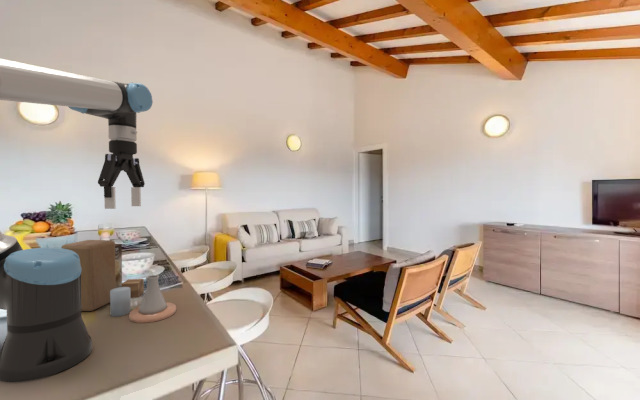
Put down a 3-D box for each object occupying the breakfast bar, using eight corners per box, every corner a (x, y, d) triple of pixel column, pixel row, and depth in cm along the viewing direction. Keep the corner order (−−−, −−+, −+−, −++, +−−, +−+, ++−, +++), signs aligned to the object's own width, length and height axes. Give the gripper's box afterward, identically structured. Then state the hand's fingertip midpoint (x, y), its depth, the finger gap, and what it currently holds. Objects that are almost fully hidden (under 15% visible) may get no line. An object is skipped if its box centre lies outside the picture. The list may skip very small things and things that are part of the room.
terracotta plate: (164, 322, 83) (164, 318, 83) (119, 323, 82) (119, 318, 82) (182, 305, 95) (182, 302, 95) (143, 306, 94) (143, 302, 94)
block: (117, 300, 99) (116, 239, 98) (91, 312, 89) (90, 245, 88) (89, 299, 100) (88, 239, 99) (60, 311, 90) (59, 244, 89)
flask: (132, 313, 86) (132, 278, 86) (153, 304, 93) (152, 272, 92) (153, 316, 84) (152, 281, 84) (172, 306, 91) (172, 274, 90)
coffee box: (107, 293, 105) (106, 248, 104) (88, 294, 105) (87, 248, 104) (122, 285, 114) (122, 243, 114) (105, 285, 114) (104, 243, 113)
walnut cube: (138, 297, 102) (138, 283, 102) (121, 298, 101) (121, 283, 101) (143, 292, 107) (143, 278, 107) (128, 293, 106) (127, 279, 106)
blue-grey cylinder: (124, 316, 87) (123, 292, 86) (106, 316, 87) (106, 292, 86) (134, 309, 92) (133, 286, 91) (117, 309, 92) (117, 286, 91)
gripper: (109, 134, 84) (110, 209, 85) (154, 146, 109) (155, 205, 110) (81, 133, 84) (83, 209, 84) (133, 146, 109) (134, 205, 109)
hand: (124, 207), depth 97 cm, fingers open, 13 cm apart
